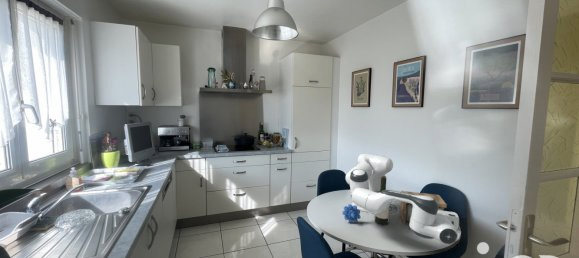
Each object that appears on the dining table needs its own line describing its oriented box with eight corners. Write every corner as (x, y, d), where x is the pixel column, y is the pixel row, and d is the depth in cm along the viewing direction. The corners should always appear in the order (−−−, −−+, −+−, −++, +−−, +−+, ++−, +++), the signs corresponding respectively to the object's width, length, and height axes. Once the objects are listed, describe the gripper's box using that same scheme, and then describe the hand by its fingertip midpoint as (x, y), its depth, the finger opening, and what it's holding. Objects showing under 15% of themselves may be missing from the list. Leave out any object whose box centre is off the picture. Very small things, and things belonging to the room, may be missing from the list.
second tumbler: (404, 220, 151) (405, 204, 150) (403, 216, 157) (404, 200, 156) (415, 222, 149) (416, 205, 148) (413, 218, 155) (414, 202, 154)
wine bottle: (372, 218, 153) (374, 174, 151) (385, 219, 153) (388, 174, 150) (376, 225, 145) (379, 177, 142) (390, 225, 144) (393, 178, 142)
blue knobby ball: (344, 226, 143) (344, 207, 142) (341, 220, 150) (341, 202, 149) (362, 225, 144) (363, 207, 143) (358, 220, 150) (359, 202, 149)
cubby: (403, 226, 144) (404, 199, 142) (399, 215, 159) (401, 190, 158) (444, 232, 137) (446, 204, 136) (436, 220, 152) (438, 194, 151)
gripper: (413, 222, 118) (409, 211, 131) (461, 230, 112) (451, 217, 125) (414, 210, 117) (409, 200, 131) (462, 217, 111) (452, 206, 124)
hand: (430, 208), depth 128 cm, fingers closed on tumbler, 6 cm apart
